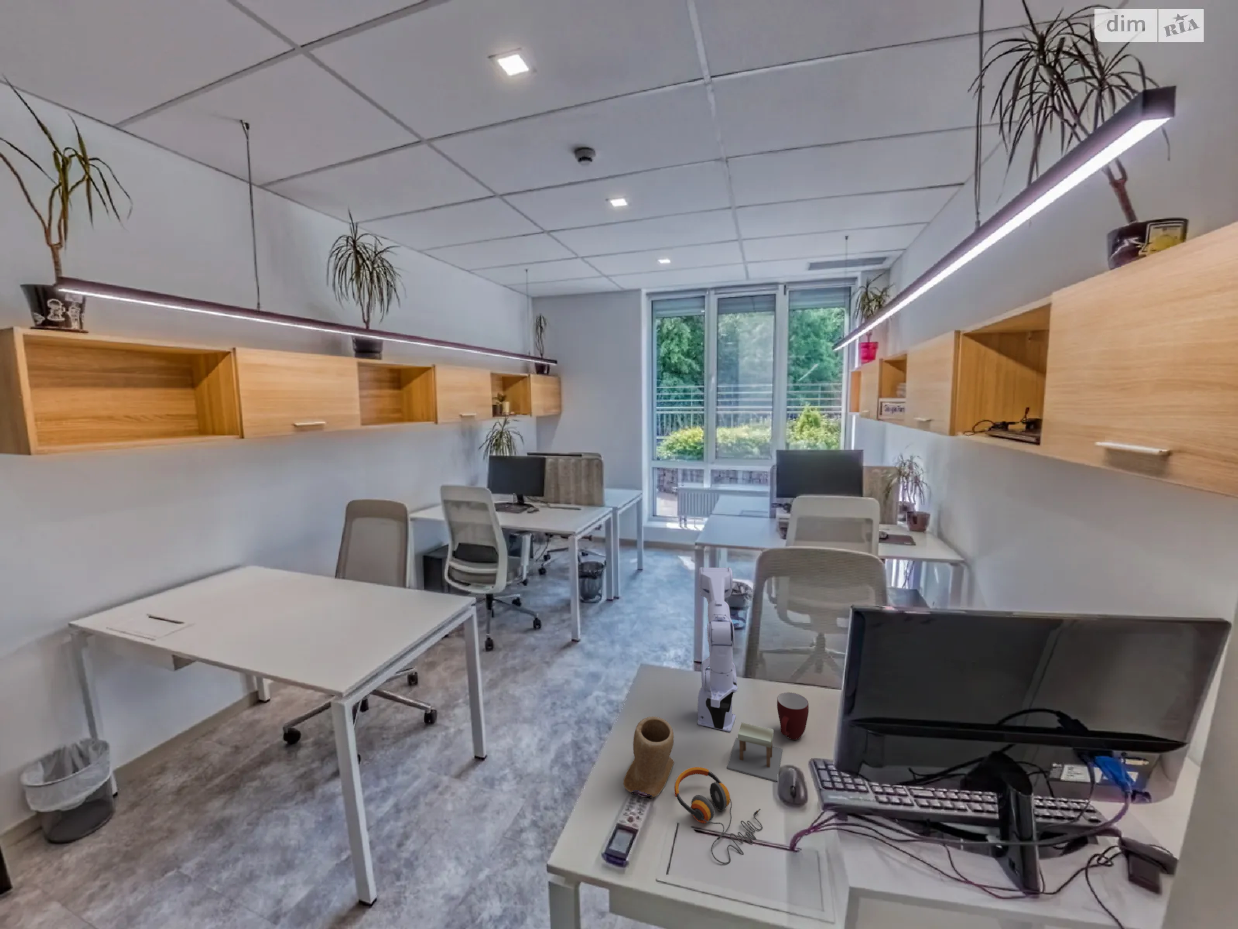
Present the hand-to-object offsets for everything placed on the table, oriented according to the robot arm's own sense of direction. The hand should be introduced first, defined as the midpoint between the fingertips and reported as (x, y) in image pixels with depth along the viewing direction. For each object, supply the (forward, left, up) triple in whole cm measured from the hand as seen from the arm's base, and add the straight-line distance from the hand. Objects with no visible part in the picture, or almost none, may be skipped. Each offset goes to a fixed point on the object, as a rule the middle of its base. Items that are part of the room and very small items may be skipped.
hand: (722, 719), depth 124 cm
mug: (+15, +14, -11) cm, 24 cm away
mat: (+8, +2, -10) cm, 13 cm away
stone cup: (-14, -14, -11) cm, 22 cm away
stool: (+8, +3, -10) cm, 13 cm away
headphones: (+2, -19, -11) cm, 22 cm away
